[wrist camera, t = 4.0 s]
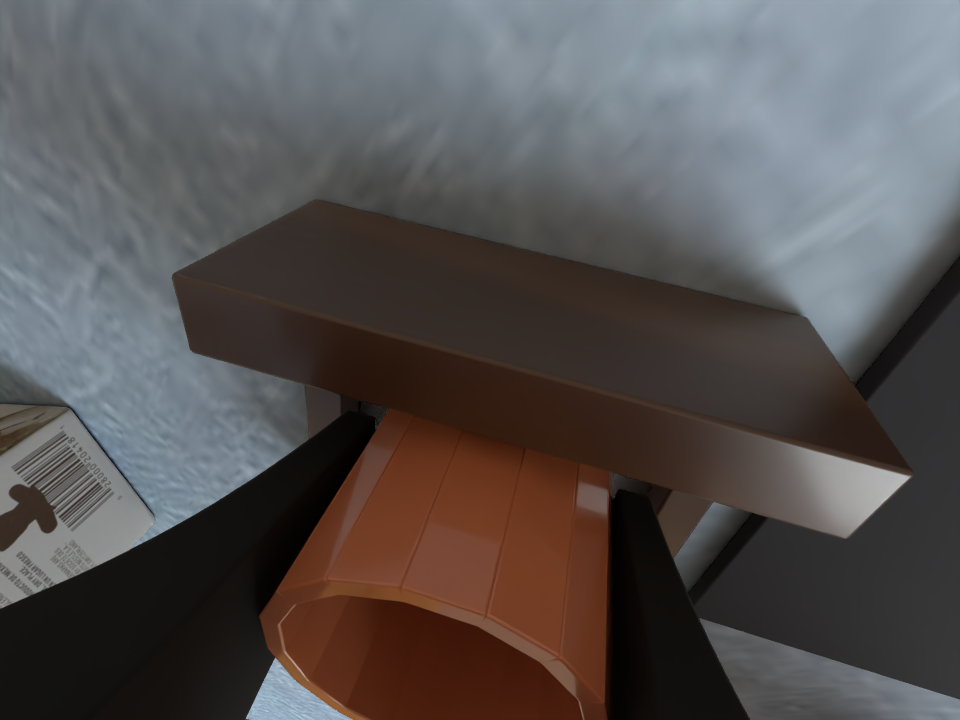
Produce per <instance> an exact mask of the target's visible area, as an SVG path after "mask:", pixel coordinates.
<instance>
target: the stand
mask: <svg viewBox="0 0 960 720" xmlns="http://www.w3.org/2000/svg"><path fill="white" fill-rule="evenodd" d="M172 281H173V285H174V288H175V292H176V296H177V300H178V304H179V308H180V312H181V316H182V319H183V323H184V327H185V331H186V335H187V339H188V343H189V347H190V350H191V351H192V352H193V353H196V354H200V355H203V356H207V357H210V358H214V359H217V360H221V361H224V362H228V363H231V364H235V365H238V366H242V367H245V368H248V369H252V370H255V371H259V372H262V373H266V374H269V375H273V376H276V377H280V378H283V379H287V380H290V381H294V382H297V383H301V384H304V385H305V395H306V406H307V418H308V429H309V439H310V438H312V437H313V436H314V435H316V434H317V433H318V432H320V431H321V430H322V429H324V428H325V427H326V426H328V425H329V424H330V423H331V422H333V421H334V420H335V419H337V418H338V417H339V416H341V415H342V414H343V413H345V412H347V411H349V410H351V411H354V412H357V413H359V400H360V401H364V402H367V403H371V404H374V405H378V406H381V407H385V408H388V409H392V410H395V411H399V412H402V413H406V414H409V415H413V416H416V417H419V418H423V419H426V420H430V421H433V422H437V423H440V424H444V425H447V426H451V427H454V428H458V429H461V430H465V431H468V432H472V433H475V434H479V435H482V436H486V437H489V438H493V439H496V440H500V441H503V442H507V443H510V444H514V445H517V446H521V447H524V448H528V449H531V450H535V451H538V452H542V453H545V454H549V455H552V456H556V457H559V458H563V459H566V460H570V461H573V462H577V463H580V464H584V465H587V466H590V467H594V468H597V469H601V470H604V471H608V472H611V473H615V474H618V475H622V476H625V477H629V478H632V479H636V480H639V481H643V482H646V483H650V484H653V487H652V488H651V490H650V492H649V494H648V495H647V497H649V498H650V500H651V502H652V504H653V506H654V509H655V512H656V515H657V518H658V520H659V523H660V526H661V528H662V531H663V534H664V536H665V539H666V542H667V544H668V547H669V549H670V552H671V554H672V557H673V558H674V557H675V555H676V554H677V553H678V551H679V550H680V548H681V547H682V546H683V544H684V543H685V541H686V540H687V539H688V537H689V536H690V534H691V533H692V531H693V530H694V529H695V527H696V526H697V524H698V523H699V522H700V520H701V519H702V517H703V516H704V514H705V513H706V512H707V510H708V509H709V507H710V506H711V505H712V503H713V502H716V503H720V504H723V505H727V506H730V507H734V508H737V509H741V510H744V511H748V512H751V513H755V514H758V515H761V516H765V517H768V518H772V519H775V520H779V521H782V522H786V523H789V524H793V525H796V526H800V527H803V528H807V529H810V530H814V531H817V532H821V533H824V534H828V535H831V536H835V537H838V538H842V539H846V538H849V537H850V536H851V535H852V534H853V533H854V532H855V531H856V530H858V529H859V528H860V527H861V526H862V525H863V524H864V523H865V522H866V521H867V520H868V519H869V518H870V517H871V516H872V515H873V514H874V513H875V512H876V511H878V510H879V509H880V508H881V507H882V506H883V505H884V504H885V503H886V502H887V501H888V500H889V499H890V498H891V497H892V496H893V495H894V494H895V493H896V492H898V491H899V490H900V489H901V488H902V487H903V486H904V485H905V484H906V483H907V482H908V481H909V480H910V479H911V478H912V477H913V470H912V469H911V467H910V466H909V464H908V463H907V461H906V460H905V459H904V457H903V456H902V454H901V453H900V451H899V450H898V448H897V447H896V445H895V444H894V443H893V441H892V440H891V438H890V437H889V435H888V434H887V432H886V431H885V430H884V428H883V427H882V425H881V424H880V422H879V421H878V419H877V418H876V417H875V415H874V414H873V412H872V411H871V409H870V408H869V406H868V405H867V403H866V402H865V401H864V399H863V398H862V396H861V395H860V393H859V392H858V390H857V389H856V388H855V386H854V385H853V383H852V382H851V380H850V379H849V377H848V376H847V374H846V373H845V372H844V370H843V369H842V367H841V366H840V364H839V363H838V361H837V360H836V359H835V357H834V356H833V354H832V353H831V351H830V350H829V348H828V347H827V345H826V344H825V343H824V341H823V340H822V338H821V337H820V335H819V334H818V332H817V331H816V330H815V328H814V327H813V325H812V324H811V322H810V321H809V319H808V318H806V317H802V316H798V315H794V314H790V313H786V312H782V311H778V310H773V309H769V308H765V307H761V306H757V305H753V304H748V303H744V302H740V301H736V300H732V299H728V298H723V297H719V296H715V295H711V294H707V293H703V292H699V291H694V290H690V289H686V288H682V287H678V286H674V285H669V284H665V283H661V282H657V281H653V280H649V279H644V278H640V277H636V276H632V275H628V274H624V273H620V272H615V271H611V270H607V269H603V268H599V267H595V266H590V265H586V264H582V263H578V262H574V261H570V260H565V259H561V258H557V257H553V256H549V255H545V254H540V253H536V252H532V251H528V250H524V249H520V248H516V247H511V246H507V245H503V244H499V243H495V242H491V241H486V240H482V239H478V238H474V237H470V236H466V235H461V234H457V233H453V232H449V231H445V230H441V229H437V228H432V227H428V226H424V225H420V224H416V223H412V222H407V221H403V220H399V219H395V218H391V217H387V216H382V215H378V214H374V213H370V212H366V211H362V210H357V209H353V208H349V207H345V206H341V205H337V204H333V203H328V202H324V201H320V200H313V201H312V202H310V203H308V204H306V205H304V206H302V207H300V208H298V209H296V210H294V211H292V212H290V213H288V214H287V215H285V216H283V217H281V218H279V219H277V220H275V221H273V222H271V223H269V224H267V225H265V226H263V227H262V228H260V229H258V230H256V231H254V232H252V233H250V234H248V235H246V236H244V237H242V238H240V239H238V240H237V241H235V242H233V243H231V244H229V245H227V246H225V247H223V248H221V249H219V250H217V251H215V252H214V253H212V254H210V255H208V256H206V257H204V258H202V259H200V260H198V261H196V262H194V263H192V264H190V265H189V266H187V267H185V268H183V269H181V270H179V271H177V272H175V273H174V274H173V275H172Z"/></svg>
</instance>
